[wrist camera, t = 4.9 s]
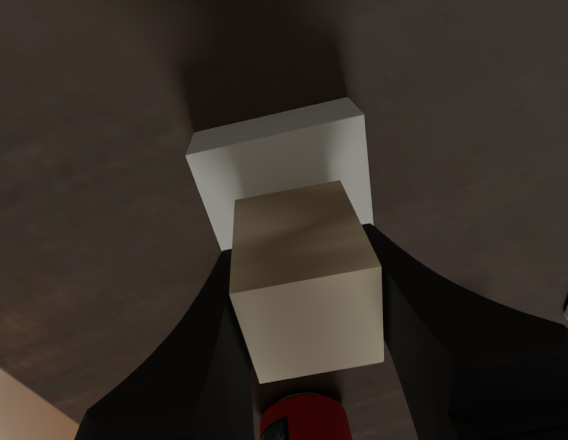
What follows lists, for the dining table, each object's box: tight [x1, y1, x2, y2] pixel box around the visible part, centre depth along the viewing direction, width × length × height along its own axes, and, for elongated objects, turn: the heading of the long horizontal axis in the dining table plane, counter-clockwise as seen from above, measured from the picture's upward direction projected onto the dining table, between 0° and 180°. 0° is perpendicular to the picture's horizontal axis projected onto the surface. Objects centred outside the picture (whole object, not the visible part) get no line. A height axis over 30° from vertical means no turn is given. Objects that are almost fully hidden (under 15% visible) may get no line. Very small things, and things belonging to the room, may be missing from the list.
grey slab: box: [185, 97, 373, 251], centre depth 17 cm, size 7×7×3 cm
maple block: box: [229, 180, 384, 384], centre depth 13 cm, size 4×4×5 cm
